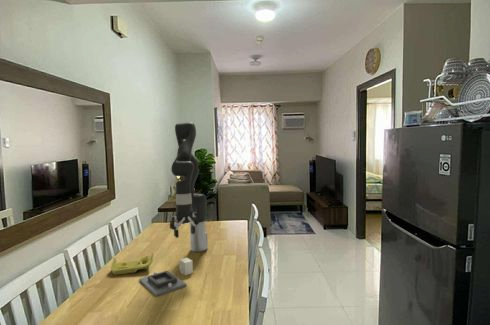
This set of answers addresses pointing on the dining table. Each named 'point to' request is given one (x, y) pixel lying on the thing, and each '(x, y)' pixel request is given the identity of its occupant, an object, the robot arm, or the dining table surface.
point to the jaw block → (186, 266)
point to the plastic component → (131, 265)
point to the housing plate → (162, 283)
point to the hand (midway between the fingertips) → (184, 235)
